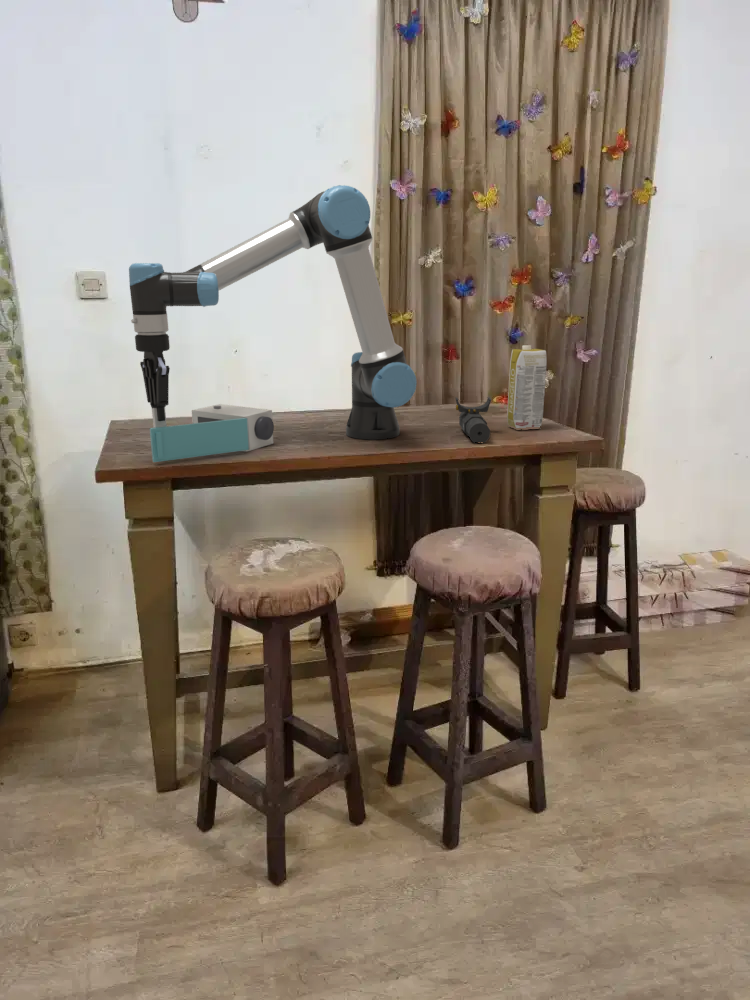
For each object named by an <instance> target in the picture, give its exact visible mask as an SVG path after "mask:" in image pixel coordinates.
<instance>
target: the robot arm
mask: <svg viewBox="0 0 750 1000" xmlns="http://www.w3.org/2000/svg"><path fill="white" fill-rule="evenodd" d="M370 207H371V206H370V204H369V201H368V200H367V198H366V196H365V195H364V194H363V193H362V192H361V191H360V190H359V189H357V188H356V187H353V186H350V185H345V184H344V185H340V184H339V185H333V186H332V187H330V188H327V189H326V190H323V191H321V192H320V193H317V194H316V195H315V196H314V197H313V198H311V199H310V200H309V201H307V202H306V203H304V204H303V205H302V206H300V207H299V208H296V209H295V210H293V211H291V212H290V213H289V215H288V218H287V219H285V220H283V221H281V222H279V223H277V224H275V225H273V226H272V227H270V228H268V229H266V230H264V231H262V232H260V233H257V234H255V235H253V236H252V237H250V238H248V239H246V240H244V241H242V242H240V243H238V244H237V245H234V246H233V247H230V248H229V249H227V250H225V251H223V252H220V253H219V254H217V255H215V256H213V257H211V258H210V259H207V260H206V261H203V262H202V263H200V264H198V265H196V266H194V267H191V268H190V269H188V270H185V271H183V272H170V271H169V272H167V271H165V270H164V267H163V264H162V263H159V262H155V263H153V262H152V263H150V262H149V263H147V262H145V263H144V262H143V263H142V262H140V263H139V262H138V263H137V262H135V263H132V264H131V265H129V268H128V277H129V281H128V282H129V292H130V300H131V309H132V318H133V319H130V322H131V323H132V324H133V328H134V330H133V331H134V332H135V333H137V334H135V336H134V340H135V341H134V342H135V350H136V351H137V352H139V353H141V352H142V353H143V359H142V361H140V363H139V364H140V367H141V371H142V375H143V382H144V388H145V393H146V399H147V403H149V404H150V407H151V414H152V416H151V417H152V424H153V427H152V428H156V427H165V426H168V425H167V424H168V423H167V415H166V414H167V413H166V406H168V405H169V391H170V390H169V387H170V386H169V383H170V382H169V381H170V379H169V377H170V370H171V368H170V366H169V365H166V360H165V357H164V352H167V351H169V350H170V347H171V345H170V335H168V333H167V332H169V322H168V321H169V320H168V311H167V307H203V308H205V307H208V306H209V307H211V306H216V305H218V303H219V300H220V299H219V296H220V295H219V293H220V292H219V291H221V290H223V289H225V288H227V287H228V286H229V287H230V286H231V285H232V284H235V283H237V282H238V281H240V280H242V279H244V278H246V277H248V276H250V275H251V274H252V275H253V274H254V273H256V272H258V271H260V270H262V269H263V268H266V267H268V266H269V265H271V264H274V263H276V262H277V261H279V260H281V259H283V258H285V257H287V256H289V255H290V254H293V253H295V252H296V251H299V250H300V249H302V248H303V249H306V250H309V249H311V248H313V247H316V246H317V245H320V244H323V246H324V249H325V250H324V251H325V252H326V254H328V255H329V256H330V257H332V258H333V259H334V261H335V264H336V268H337V272H338V274H339V278H340V281H341V284H342V287H343V291H344V293H345V294H344V295H345V298H346V301H347V305H348V308H349V312H350V315H351V319H352V322H353V326H354V329H355V332H356V336H357V339H358V342H359V345H360V348H361V351H359V352H358V351H357V352H354V353H353V354H352V356H351V364H350V367H351V410H350V413H349V415H348V418H347V422H346V426H345V435H346V436H347V437H349V438H354V439H358V440H386V439H387V438H388V439H392V438H397V437H398V436H399V435H400V424H399V421H398V417H397V415H396V411H395V410H396V409H395V408H398V407H402V406H404V405H405V404H406V403H408V402H409V401H410V400H411V399H412V398H413V396H414V394H415V393H416V390H417V384H418V383H417V377H416V373H415V372H414V370H413V369H412V367H411V366H410V365H409V364H408V363H407V359H406V356H405V352H404V348H403V347H402V346H400V345H399V344H397V343H396V342H395V340H394V339H395V338H394V335H393V332H392V328H391V325H390V320H389V317H388V313H387V310H386V309H387V308H386V307H385V302H384V300H383V295H382V291H381V289H380V285H379V280H378V277H377V274H376V269H375V266H374V263H373V259H372V257H371V252H370V248H369V247H370V244H371V243H372V241H373V237H372V233H371V228H370V225H369V224H370V220H371V208H370Z"/></svg>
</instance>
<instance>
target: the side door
mask: <svg viewBox="0 0 750 1000" xmlns="http://www.w3.org/2000/svg"><path fill="white" fill-rule="evenodd" d="M149 439H150V447H151V459H152V462H153V463H157V462H166V461H174V460H181V459H189V458H195V457H205V456H212V455H220V454H227V453H234V452H244V451H243V450H249V449H250V443H249V424H248V418H239V419H230V420H221V421H211V422H202V423H193V422H192V423H187V424H185V423H184V424H178V425H177V424H175V425H167V426H165V427H156V428H154V427H150V428H149Z"/></svg>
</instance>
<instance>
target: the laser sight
mask: <svg viewBox="0 0 750 1000" xmlns="http://www.w3.org/2000/svg"><path fill="white" fill-rule="evenodd" d="M454 398H455V402H456V404H455V405H456V406H455V411H458V412H459V413H460V414H459V418H458V420H459V426H460V428H461V429H462V431H463V433H464V434H465V435H466V436H469V437H470V440H471V441H472V442H473V444H474V443H475V442H484V443H486V442H487V441H489V439H490V437H491V430H490V428H489V426H488V422H487V421H486V420H485V418H484V417H482V415H481V414H480V413H488V411H489V408H490V405H491V402H492V398H491V397H489V396H488V397H486V398H487V400H486V402H484V403H483V404H481V405H479V406H473V407H472V406H465V405H462V404H460V403H459V398H458V397H457V396H456V397H454ZM469 437H468V438H469ZM475 444H476V443H475Z"/></svg>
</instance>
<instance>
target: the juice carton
mask: <svg viewBox="0 0 750 1000" xmlns="http://www.w3.org/2000/svg"><path fill="white" fill-rule="evenodd" d="M521 347H522V348H521V349H519V348H516V349H515V348H512V350H511V355H510V359H509V360H510V361H509V375H508V377H509V378H508V379H509V380H508V392H507V393H508V394H507V395H508V397H507V412H506V413H507V414H506V416H507V417H506V419H507V426H508V425H510V426H513V427H515V428H526V427H540V426H541V427H542V423H543V417H544V406H545V405H544V404H545V403H544V402H545V391H546V389H545V388H546V375H547V351H546V350H545V349H540V348H532V344H529V345H528V344H527V345H525V344H524V345H522V346H521Z"/></svg>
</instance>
